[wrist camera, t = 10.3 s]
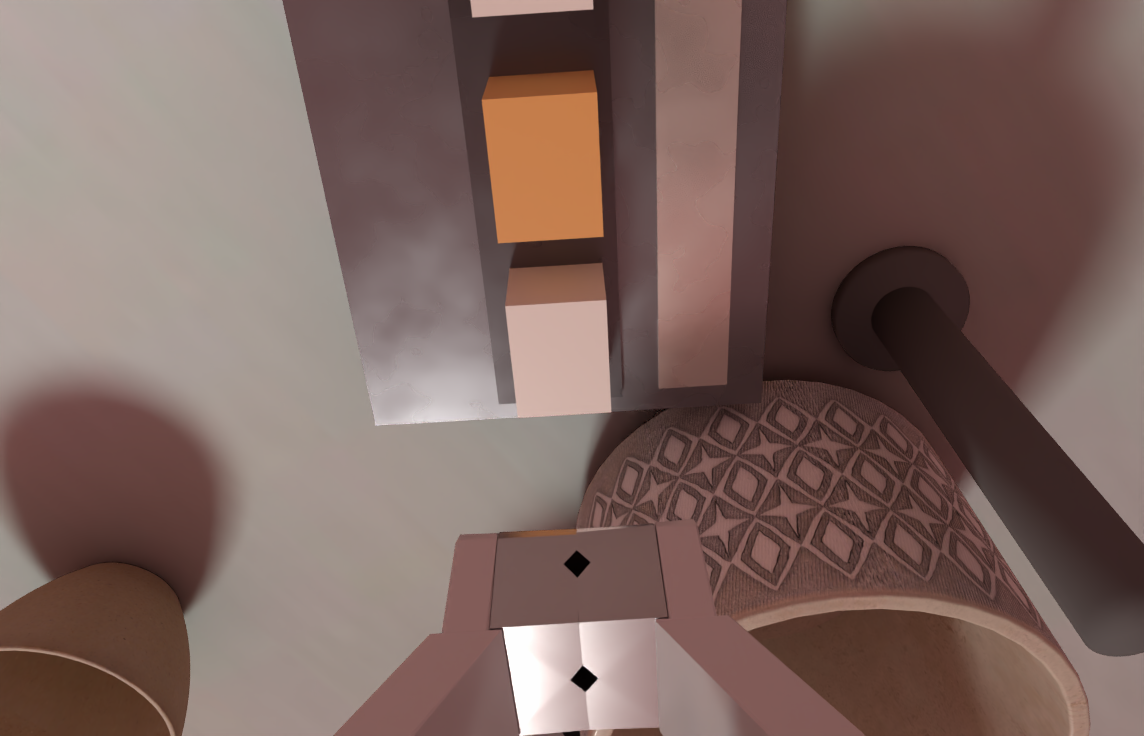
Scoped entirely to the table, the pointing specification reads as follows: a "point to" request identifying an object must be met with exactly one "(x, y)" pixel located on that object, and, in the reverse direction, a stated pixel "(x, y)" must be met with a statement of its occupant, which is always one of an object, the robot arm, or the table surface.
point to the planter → (848, 562)
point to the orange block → (544, 156)
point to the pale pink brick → (559, 340)
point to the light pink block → (526, 6)
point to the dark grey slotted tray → (481, 265)
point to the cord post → (997, 440)
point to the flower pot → (95, 657)
